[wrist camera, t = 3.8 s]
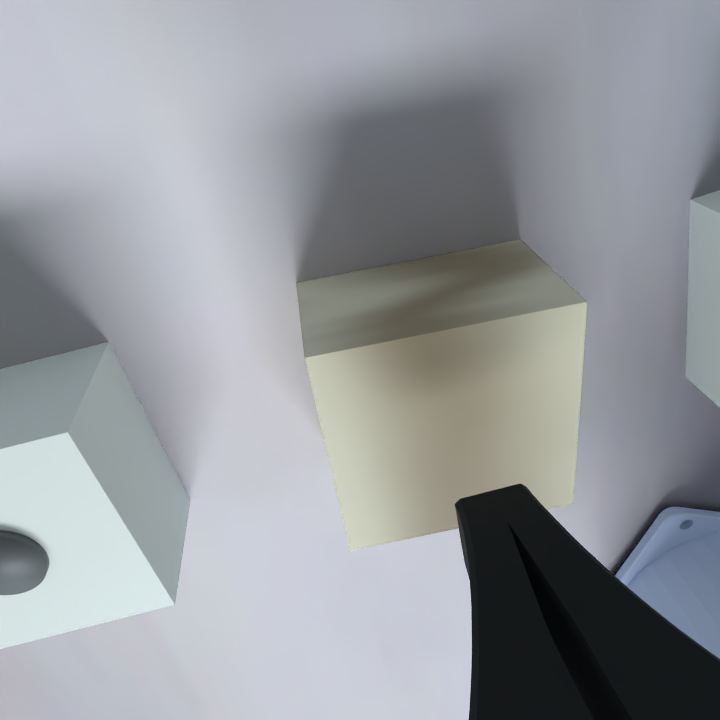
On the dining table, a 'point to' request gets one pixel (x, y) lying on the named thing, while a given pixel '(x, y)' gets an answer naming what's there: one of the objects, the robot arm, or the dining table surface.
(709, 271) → the two-dot block
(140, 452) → the one-dot block
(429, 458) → the maple block
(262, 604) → the dining table surface
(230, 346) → the dining table surface
